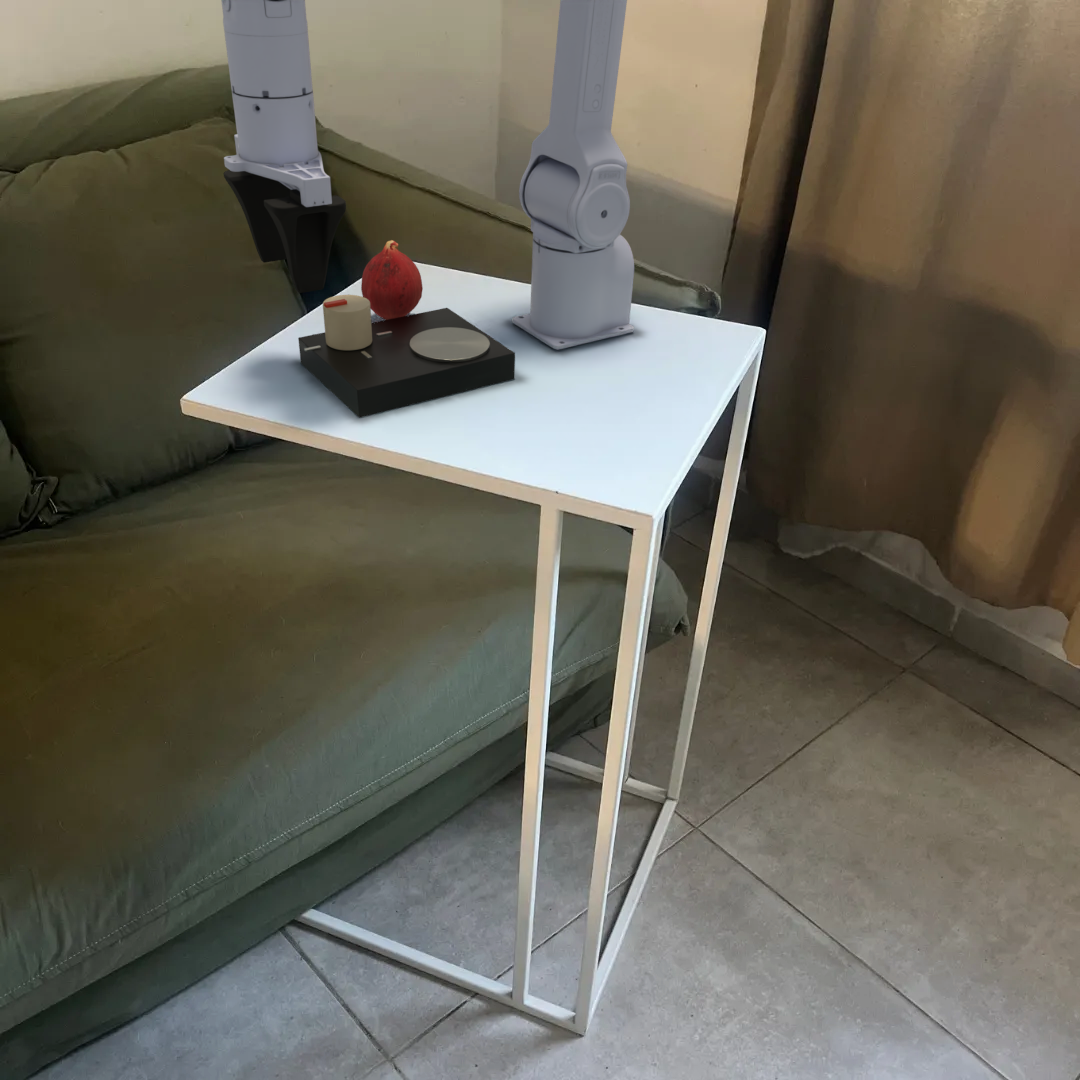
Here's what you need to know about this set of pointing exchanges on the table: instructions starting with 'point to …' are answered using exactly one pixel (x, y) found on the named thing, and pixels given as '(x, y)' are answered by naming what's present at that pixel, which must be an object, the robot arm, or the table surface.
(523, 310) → the table surface
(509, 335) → the table surface
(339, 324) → the knob
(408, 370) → the hob
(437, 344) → the burner
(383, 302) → the onion
